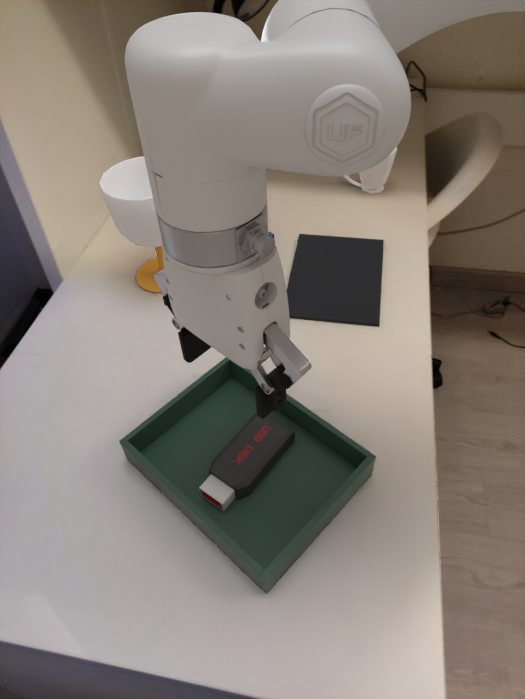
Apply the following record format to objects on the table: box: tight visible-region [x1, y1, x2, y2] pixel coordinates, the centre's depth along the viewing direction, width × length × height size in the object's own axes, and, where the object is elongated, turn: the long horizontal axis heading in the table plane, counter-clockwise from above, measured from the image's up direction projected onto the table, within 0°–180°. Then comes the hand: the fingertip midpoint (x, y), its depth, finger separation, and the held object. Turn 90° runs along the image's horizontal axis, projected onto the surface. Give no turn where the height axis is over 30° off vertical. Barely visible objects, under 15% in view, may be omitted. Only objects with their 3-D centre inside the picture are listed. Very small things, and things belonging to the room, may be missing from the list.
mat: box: [286, 233, 385, 327], centre depth 83 cm, size 20×14×1 cm
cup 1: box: [98, 155, 164, 294], centre depth 79 cm, size 12×12×17 cm
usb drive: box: [199, 412, 295, 512], centre depth 60 cm, size 5×12×3 cm, turn 143°
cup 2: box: [342, 146, 398, 195], centre depth 97 cm, size 7×10×8 cm
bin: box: [119, 356, 377, 594], centre depth 60 cm, size 22×17×4 cm
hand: (233, 379), depth 50 cm, fingers open, 9 cm apart
